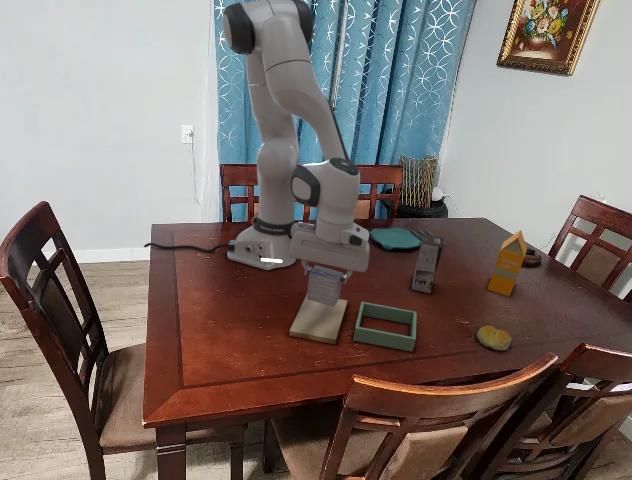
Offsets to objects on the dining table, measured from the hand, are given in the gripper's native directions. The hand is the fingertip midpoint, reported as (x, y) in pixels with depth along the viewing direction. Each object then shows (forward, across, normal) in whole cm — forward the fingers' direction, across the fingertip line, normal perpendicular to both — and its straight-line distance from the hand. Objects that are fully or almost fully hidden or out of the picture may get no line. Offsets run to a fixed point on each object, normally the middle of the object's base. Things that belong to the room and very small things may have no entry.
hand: (325, 278), depth 115 cm
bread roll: (+10, +48, +3) cm, 50 cm away
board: (+12, 0, -1) cm, 12 cm away
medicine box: (+7, 0, 0) cm, 7 cm away
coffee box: (+11, +29, +29) cm, 43 cm away
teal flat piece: (+12, +23, +65) cm, 70 cm away
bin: (+12, +18, -1) cm, 22 cm away
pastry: (+10, +70, +65) cm, 96 cm away
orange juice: (+10, +56, +38) cm, 69 cm away
